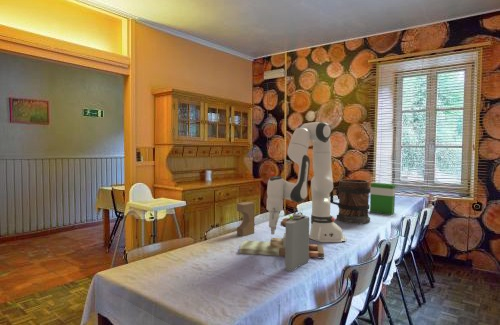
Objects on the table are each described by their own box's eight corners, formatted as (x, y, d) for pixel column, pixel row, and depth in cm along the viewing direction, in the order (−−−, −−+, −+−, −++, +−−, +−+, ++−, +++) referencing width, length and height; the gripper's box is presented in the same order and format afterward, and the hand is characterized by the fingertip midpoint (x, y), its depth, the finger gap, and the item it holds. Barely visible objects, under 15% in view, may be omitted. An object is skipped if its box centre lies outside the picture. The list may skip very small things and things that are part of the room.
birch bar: (300, 246, 179) (300, 239, 178) (300, 249, 174) (300, 241, 174) (271, 244, 181) (271, 237, 181) (270, 247, 177) (270, 240, 176)
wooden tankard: (365, 225, 233) (366, 183, 231) (325, 220, 249) (325, 180, 247) (372, 219, 252) (374, 180, 250) (335, 214, 268) (336, 177, 266)
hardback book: (370, 211, 280) (370, 183, 278) (372, 210, 285) (373, 182, 284) (391, 214, 269) (392, 185, 267) (394, 212, 275) (395, 184, 273)
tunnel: (298, 245, 181) (298, 233, 180) (298, 250, 172) (298, 238, 172) (284, 244, 182) (284, 232, 181) (283, 249, 174) (283, 237, 173)
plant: (307, 221, 246) (308, 206, 245) (309, 228, 227) (310, 212, 226) (281, 220, 248) (281, 205, 247) (280, 227, 229) (281, 211, 228)
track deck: (322, 249, 181) (322, 244, 181) (324, 258, 168) (324, 253, 168) (244, 244, 189) (244, 240, 188) (239, 253, 175) (239, 248, 175)
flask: (301, 259, 166) (302, 210, 165) (309, 261, 163) (310, 211, 162) (282, 269, 153) (282, 216, 151) (290, 272, 150) (291, 218, 148)
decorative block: (242, 236, 205) (242, 204, 203) (236, 234, 209) (236, 203, 208) (254, 233, 212) (255, 202, 211) (248, 231, 217) (249, 201, 215)
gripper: (279, 210, 166) (277, 237, 167) (281, 203, 186) (280, 227, 187) (266, 210, 167) (265, 236, 168) (270, 202, 187) (269, 226, 188)
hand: (273, 231), depth 178 cm, fingers open, 8 cm apart
